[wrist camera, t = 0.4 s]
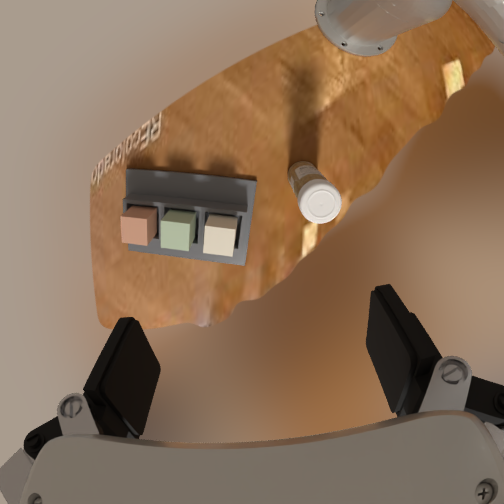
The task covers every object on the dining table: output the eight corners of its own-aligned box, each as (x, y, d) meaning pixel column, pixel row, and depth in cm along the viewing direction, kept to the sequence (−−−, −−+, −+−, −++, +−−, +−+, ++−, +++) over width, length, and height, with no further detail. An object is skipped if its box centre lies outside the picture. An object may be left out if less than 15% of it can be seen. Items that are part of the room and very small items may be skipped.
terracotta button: (132, 205, 41) (120, 216, 37) (157, 207, 41) (146, 219, 37) (133, 229, 43) (121, 242, 39) (156, 232, 43) (147, 245, 39)
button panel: (127, 168, 41) (117, 173, 38) (256, 180, 42) (256, 186, 39) (129, 248, 47) (122, 258, 44) (244, 263, 48) (244, 275, 45)
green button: (169, 209, 41) (160, 220, 37) (196, 212, 41) (189, 223, 37) (169, 233, 43) (160, 247, 39) (194, 237, 43) (188, 251, 39)
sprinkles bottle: (283, 184, 42) (293, 217, 30) (293, 155, 40) (309, 176, 28) (311, 194, 43) (332, 230, 31) (322, 166, 41) (349, 191, 29)
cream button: (210, 213, 41) (204, 225, 37) (237, 217, 42) (235, 229, 38) (208, 238, 43) (203, 252, 39) (234, 242, 44) (232, 256, 40)
